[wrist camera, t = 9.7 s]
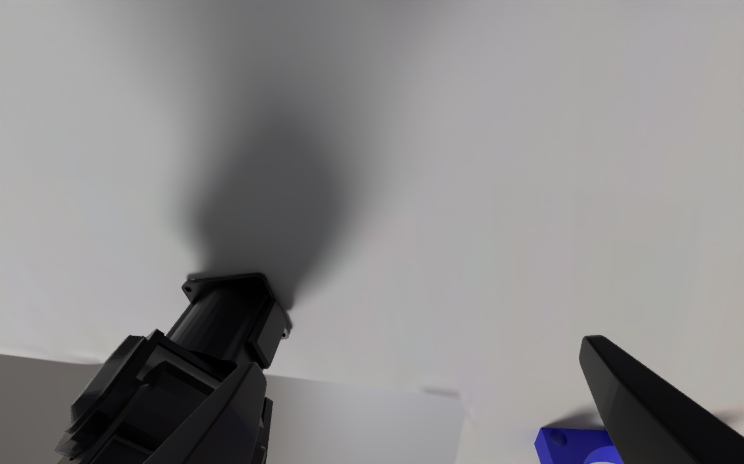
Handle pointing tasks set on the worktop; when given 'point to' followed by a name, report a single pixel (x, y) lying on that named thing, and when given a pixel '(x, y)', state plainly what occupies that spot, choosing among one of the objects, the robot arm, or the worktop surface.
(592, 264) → the worktop surface
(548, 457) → the cable clip
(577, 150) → the worktop surface
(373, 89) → the worktop surface
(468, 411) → the worktop surface
